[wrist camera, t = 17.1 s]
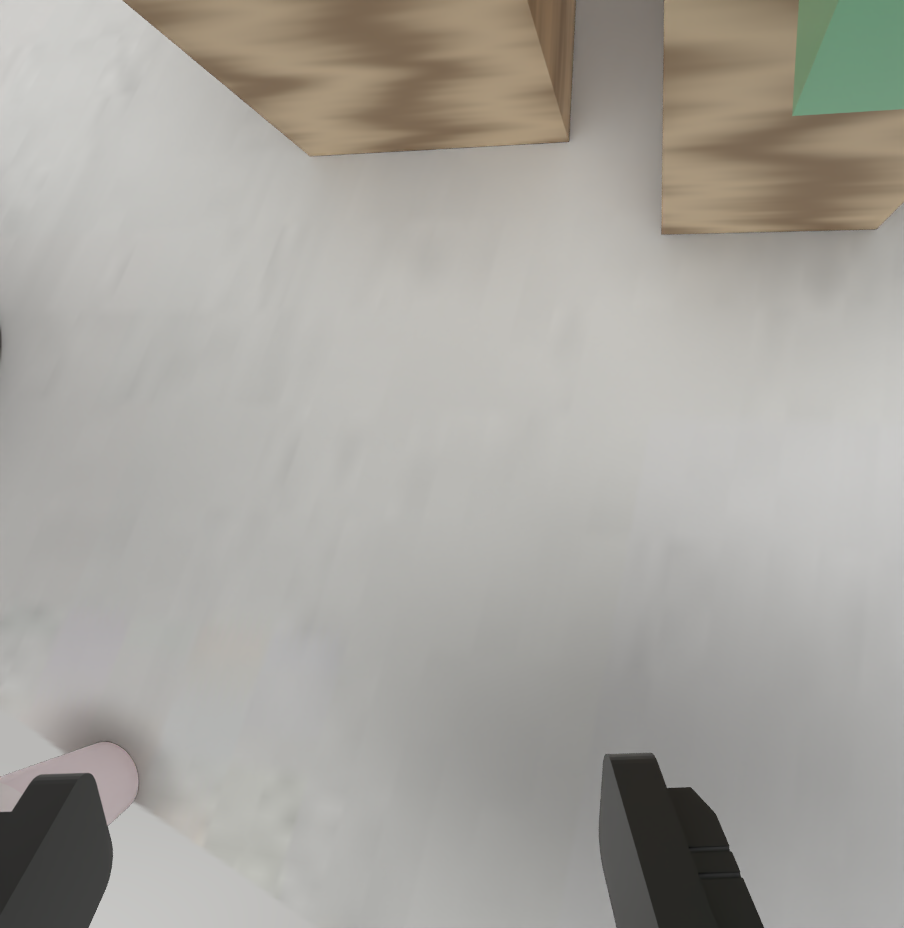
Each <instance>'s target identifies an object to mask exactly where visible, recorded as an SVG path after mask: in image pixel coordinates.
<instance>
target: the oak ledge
mask: <svg viewBox="0 0 904 928" xmlns="http://www.w3.org/2000/svg"><path fill="white" fill-rule="evenodd" d="M798 8H799V0H664V59H663V142H662V225H661V234H700V233H742V232H783V231H825V230H866V229H877V228H878V227H879V226H880V225H881V224H882V223H883V222H884V221H885V220H886V219H887V218H888V217H889V216H890V215H891V214H892V213H893V212H894V211H895V210H896V209H897V208H898V207H899V206H900V205H901V204H902V203H903V202H904V109H899V110H883V111H866V112H850V113H834V114H818V115H802V116H792V110H793V93H794V76H795V59H796V42H797V25H798Z"/></svg>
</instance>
